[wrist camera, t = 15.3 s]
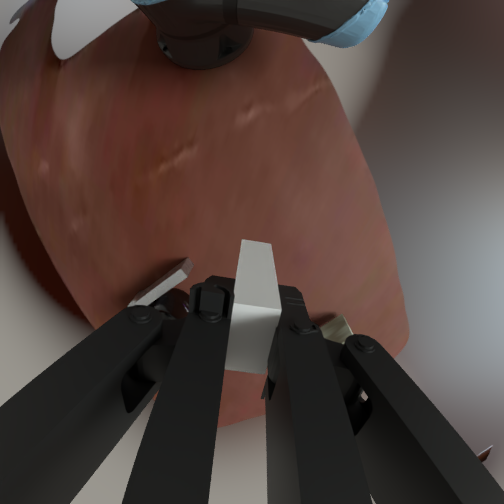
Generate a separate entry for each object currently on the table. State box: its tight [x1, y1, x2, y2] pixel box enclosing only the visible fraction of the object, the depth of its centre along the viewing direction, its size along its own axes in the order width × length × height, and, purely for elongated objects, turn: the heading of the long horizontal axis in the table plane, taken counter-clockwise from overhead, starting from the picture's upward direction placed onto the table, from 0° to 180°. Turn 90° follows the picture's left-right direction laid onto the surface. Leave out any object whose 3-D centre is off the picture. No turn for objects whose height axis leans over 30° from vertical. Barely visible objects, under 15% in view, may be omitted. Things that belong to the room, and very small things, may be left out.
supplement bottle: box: [153, 289, 190, 320], centre depth 43 cm, size 7×7×12 cm
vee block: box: [128, 258, 194, 307], centre depth 47 cm, size 18×10×5 cm, turn 171°
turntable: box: [267, 314, 353, 367], centre depth 46 cm, size 17×12×7 cm
